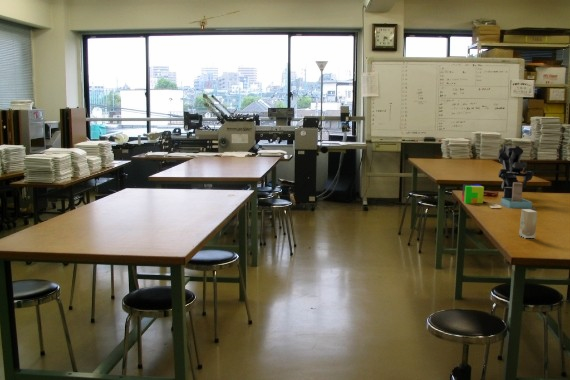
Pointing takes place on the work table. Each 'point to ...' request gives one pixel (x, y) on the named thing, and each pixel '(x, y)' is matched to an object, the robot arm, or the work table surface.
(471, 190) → the puzzle toy
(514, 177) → the robot arm
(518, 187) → the block
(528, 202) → the dish
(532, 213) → the skincare box
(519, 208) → the mat
